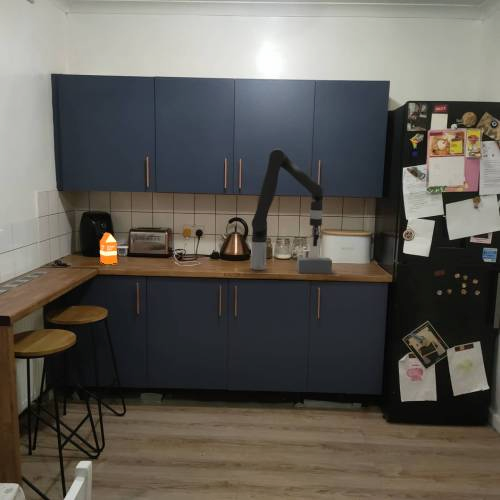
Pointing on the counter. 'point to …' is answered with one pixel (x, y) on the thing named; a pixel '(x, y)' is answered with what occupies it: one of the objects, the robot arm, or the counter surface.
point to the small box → (305, 253)
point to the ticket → (314, 248)
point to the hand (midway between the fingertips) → (314, 245)
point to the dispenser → (314, 265)
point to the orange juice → (108, 249)
